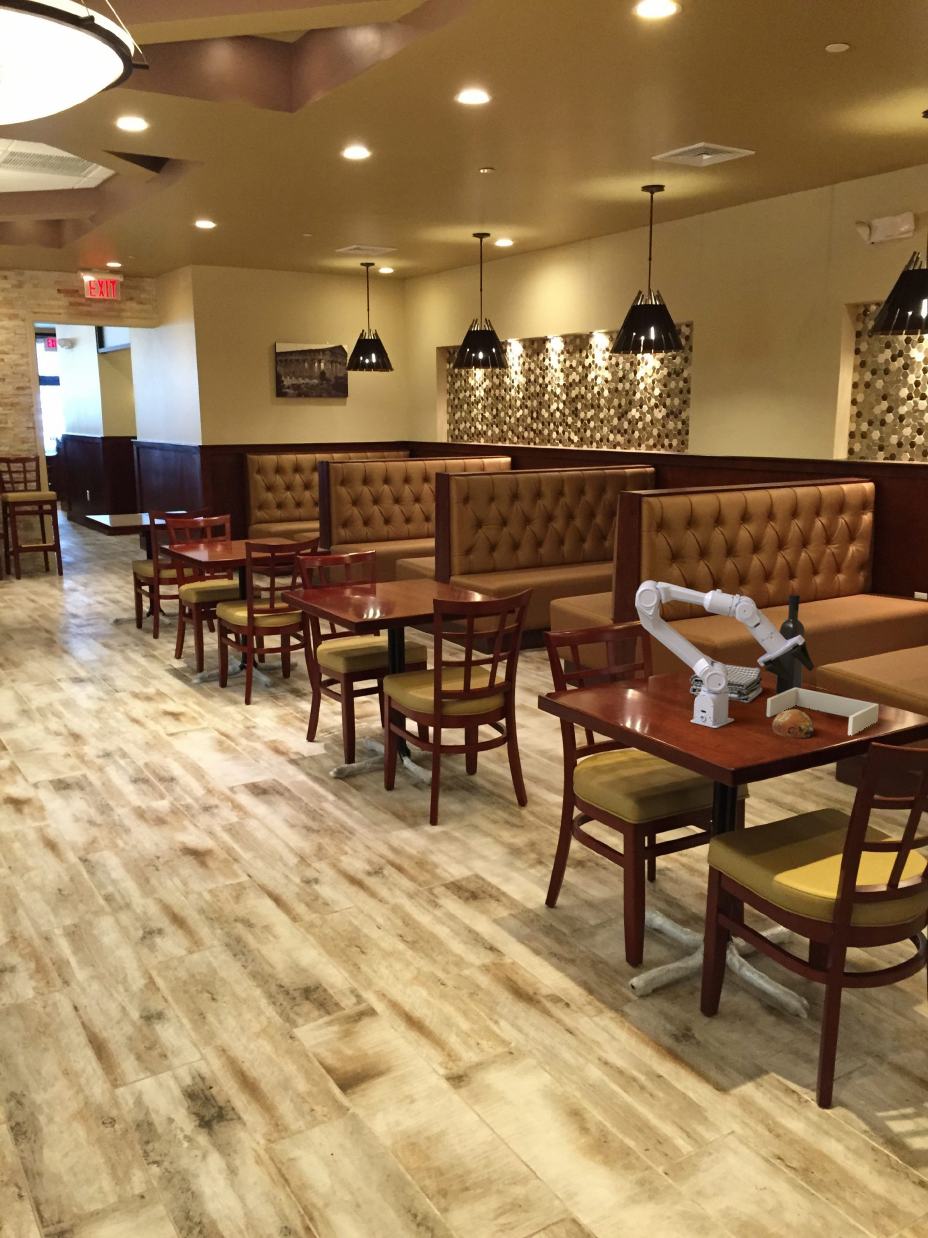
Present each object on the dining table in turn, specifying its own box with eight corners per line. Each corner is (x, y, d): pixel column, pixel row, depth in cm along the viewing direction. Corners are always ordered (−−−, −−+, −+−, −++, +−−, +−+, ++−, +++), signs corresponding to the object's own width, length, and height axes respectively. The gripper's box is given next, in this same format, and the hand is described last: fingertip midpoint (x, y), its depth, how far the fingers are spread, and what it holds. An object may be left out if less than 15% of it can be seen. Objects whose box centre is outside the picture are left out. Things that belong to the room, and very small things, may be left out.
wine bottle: (774, 694, 294) (780, 594, 288) (785, 690, 298) (792, 592, 292) (790, 698, 290) (797, 597, 284) (802, 695, 293) (808, 595, 287)
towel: (706, 684, 306) (707, 659, 305) (765, 693, 296) (766, 667, 295) (687, 696, 294) (688, 670, 292) (748, 705, 284) (750, 679, 282)
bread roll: (803, 740, 264) (797, 711, 266) (823, 736, 254) (818, 705, 256) (769, 743, 262) (764, 713, 264) (788, 739, 252) (783, 707, 254)
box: (851, 735, 256) (852, 717, 255) (766, 716, 273) (767, 698, 272) (877, 722, 268) (878, 704, 266) (794, 704, 284) (795, 687, 283)
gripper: (793, 616, 258) (827, 655, 258) (753, 639, 269) (785, 677, 269) (783, 629, 253) (818, 669, 253) (743, 652, 264) (776, 691, 264)
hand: (801, 674), depth 261 cm, fingers open, 7 cm apart
